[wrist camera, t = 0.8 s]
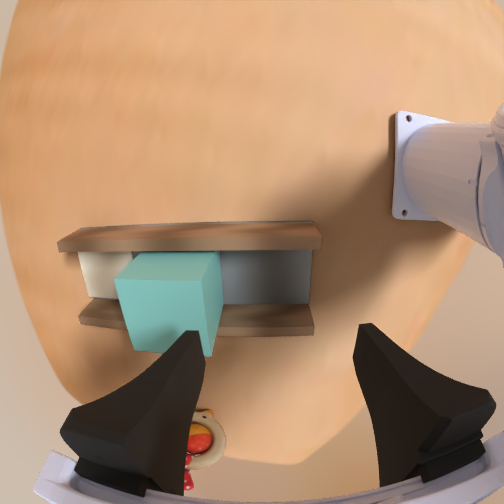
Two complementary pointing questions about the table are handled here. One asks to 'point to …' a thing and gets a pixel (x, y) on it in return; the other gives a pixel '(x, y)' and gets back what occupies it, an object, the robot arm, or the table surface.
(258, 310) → the chute
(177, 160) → the table surface
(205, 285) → the block
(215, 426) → the bird rattle
